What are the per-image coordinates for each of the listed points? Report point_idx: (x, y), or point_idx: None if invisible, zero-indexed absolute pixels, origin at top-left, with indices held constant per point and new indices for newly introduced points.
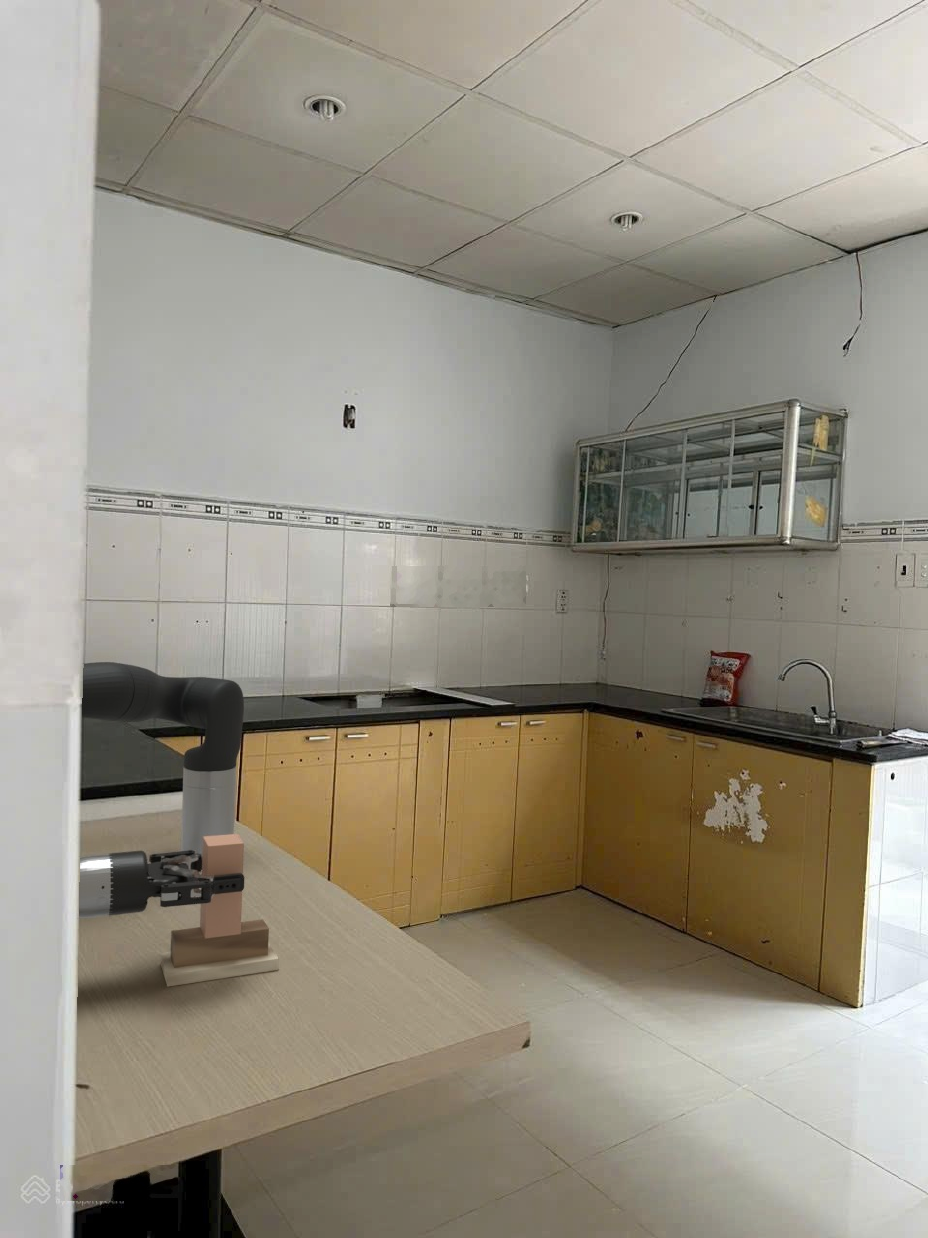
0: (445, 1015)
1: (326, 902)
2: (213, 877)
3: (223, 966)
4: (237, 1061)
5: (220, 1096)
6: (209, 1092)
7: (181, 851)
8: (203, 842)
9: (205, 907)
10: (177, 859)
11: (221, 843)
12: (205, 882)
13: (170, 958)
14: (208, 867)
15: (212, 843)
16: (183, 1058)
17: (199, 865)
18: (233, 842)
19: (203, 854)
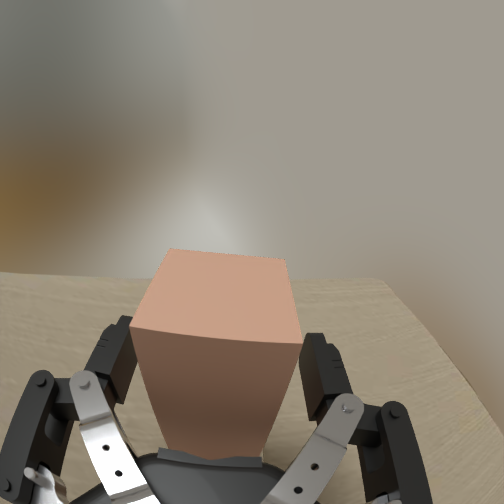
0: (374, 303)
1: (94, 291)
2: (351, 395)
3: (262, 458)
4: (453, 443)
5: (491, 445)
6: (488, 454)
7: (22, 399)
8: (155, 345)
9: (247, 452)
10: (130, 471)
11: (271, 299)
12: (400, 415)
13: None
14: (281, 397)
15: (259, 323)
16: (450, 490)
17: (109, 399)
18: (266, 273)
19: (170, 379)
